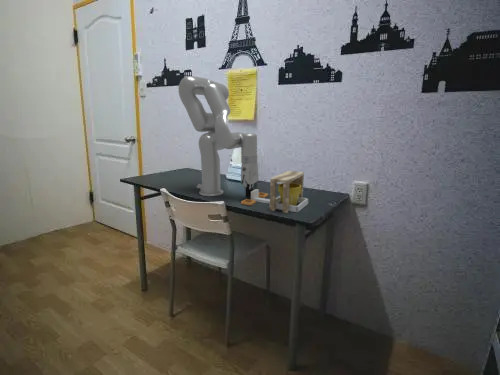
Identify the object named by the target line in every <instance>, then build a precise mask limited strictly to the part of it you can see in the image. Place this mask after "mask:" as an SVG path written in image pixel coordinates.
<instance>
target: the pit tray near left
mask: <svg viewBox="0 0 500 375" xmlns="http://www.w3.org/2000/svg"><path fill="white" fill-rule="evenodd" d="M268 197H269V193H266V192H260V191H259V198H265V199H267V198H268Z"/></svg>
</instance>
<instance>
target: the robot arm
mask: <svg viewBox="0 0 500 375" xmlns="http://www.w3.org/2000/svg"><path fill="white" fill-rule="evenodd" d="M229 93H230V92H229V89H228V88H227V86H226V85H224V84H223V83H220V82H217V81H215V80H211V79H209V78H205V77H198V76H195V75H194V76H192V75H189V76H185V77H183V78H182V79H181V80H180V82H179V84H178V96H179V98H180V100H181V103H182V105H183V106H184V108H185V110H186V113H187V115H188V117H189V120H190V122H191V123H192V126H193V128H194V129H195V131H197V132H199V133H203V134H201V136H200V137H199V139H198V147H199V153H200V164H201V167H200V168H201V183H197V185H196V188H197V189H200V191H199V192H198V194H199V195H200V196H202V197H203V196H204V197H218V196H221V195H224V190H223V189H221V161H220V160H221V159H220V155H219V152H218V151H223V150H233V149H238V148H239V149H240V150H241V151H240V159H241V160H240V162H241V166H240V182H241V184H242V187H243V188H245V197H247V198H251V191H253V190H254V185H255V183H257V182H258V181H259V167H258V135H257V134H256V133H254V132H253V133H252V132H251V133H249V132H246V133H244V132H240V131H239V132H238V131H236V132H232V131H231V130H230V128H229V125H228V122H227V119H228V116H229V115H230V114H231V108H230V106H229V103H228V102H227V100H228V98H229V95H230V94H229ZM197 96H204V98H205V100H206V102H207V104H208V106H209V108H210V110H211V112H206V109H205V108H204V105H203V103H202V102H201V100H200V99H199V98H198V97H197Z"/></svg>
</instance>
